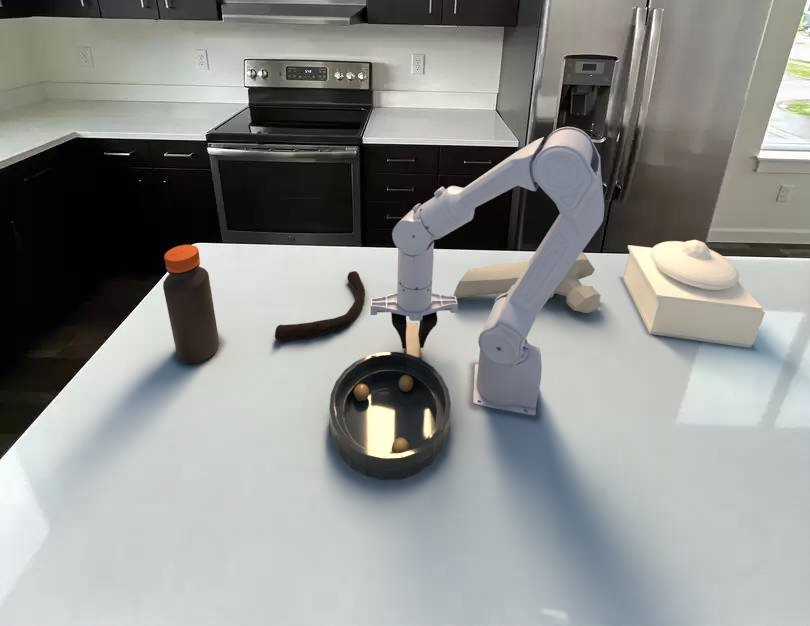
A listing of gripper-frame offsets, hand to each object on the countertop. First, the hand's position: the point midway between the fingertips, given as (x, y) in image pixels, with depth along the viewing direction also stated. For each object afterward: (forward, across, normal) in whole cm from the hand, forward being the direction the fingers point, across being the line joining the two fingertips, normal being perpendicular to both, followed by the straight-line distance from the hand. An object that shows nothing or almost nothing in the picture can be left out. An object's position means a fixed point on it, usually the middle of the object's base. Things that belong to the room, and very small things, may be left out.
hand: (412, 344), depth 74 cm
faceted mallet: (+3, +25, +15) cm, 29 cm away
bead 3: (0, -4, -17) cm, 17 cm away
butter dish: (+3, +56, +9) cm, 57 cm away
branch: (+3, -16, +13) cm, 21 cm away
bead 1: (0, -8, -9) cm, 12 cm away
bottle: (+3, -38, +3) cm, 38 cm away
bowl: (+2, -4, -12) cm, 13 cm away
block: (+1, 0, 0) cm, 1 cm away
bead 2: (0, -2, -8) cm, 9 cm away
